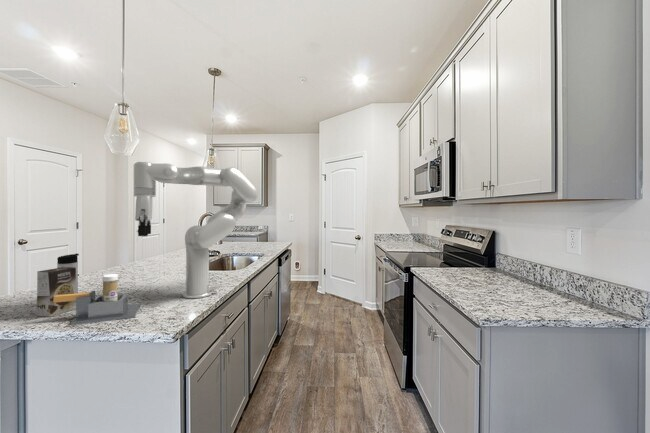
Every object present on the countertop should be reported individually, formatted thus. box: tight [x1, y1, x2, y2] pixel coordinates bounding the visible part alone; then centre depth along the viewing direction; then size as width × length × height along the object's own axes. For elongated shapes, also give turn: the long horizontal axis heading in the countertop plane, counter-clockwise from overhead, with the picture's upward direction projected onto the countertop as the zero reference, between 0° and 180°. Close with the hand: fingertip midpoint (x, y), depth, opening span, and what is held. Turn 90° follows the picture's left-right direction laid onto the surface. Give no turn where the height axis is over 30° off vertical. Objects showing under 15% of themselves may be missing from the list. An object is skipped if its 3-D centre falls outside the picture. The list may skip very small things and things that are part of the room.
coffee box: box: [36, 267, 76, 318], centre depth 108 cm, size 9×6×16 cm
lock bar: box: [54, 290, 96, 303], centre depth 103 cm, size 11×3×3 cm, turn 115°
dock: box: [70, 292, 142, 326], centre depth 107 cm, size 18×14×8 cm
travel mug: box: [56, 253, 80, 294], centre depth 118 cm, size 6×7×20 cm
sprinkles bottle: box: [101, 273, 119, 302], centre depth 107 cm, size 5×5×13 cm
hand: (144, 234), depth 119 cm, fingers open, 9 cm apart
